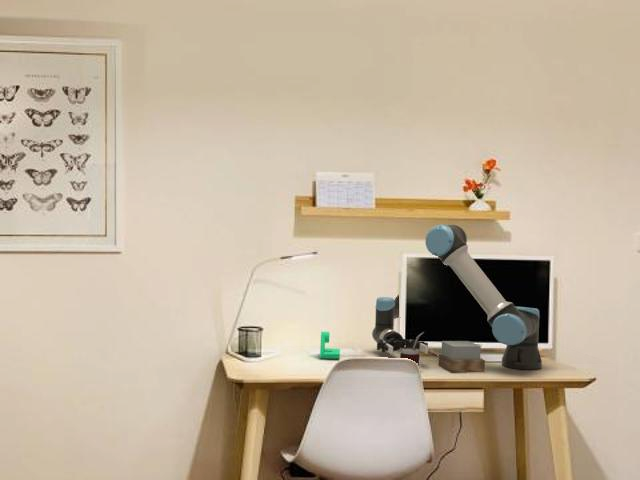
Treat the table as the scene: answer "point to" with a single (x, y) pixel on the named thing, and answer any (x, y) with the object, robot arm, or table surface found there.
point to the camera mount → (328, 352)
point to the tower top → (461, 350)
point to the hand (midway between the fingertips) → (409, 350)
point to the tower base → (461, 365)
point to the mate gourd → (411, 352)
